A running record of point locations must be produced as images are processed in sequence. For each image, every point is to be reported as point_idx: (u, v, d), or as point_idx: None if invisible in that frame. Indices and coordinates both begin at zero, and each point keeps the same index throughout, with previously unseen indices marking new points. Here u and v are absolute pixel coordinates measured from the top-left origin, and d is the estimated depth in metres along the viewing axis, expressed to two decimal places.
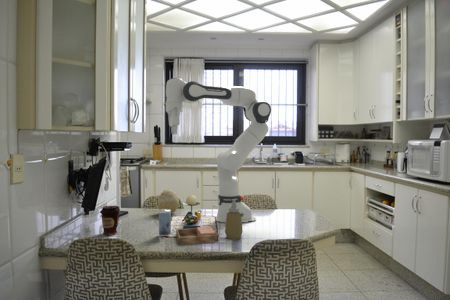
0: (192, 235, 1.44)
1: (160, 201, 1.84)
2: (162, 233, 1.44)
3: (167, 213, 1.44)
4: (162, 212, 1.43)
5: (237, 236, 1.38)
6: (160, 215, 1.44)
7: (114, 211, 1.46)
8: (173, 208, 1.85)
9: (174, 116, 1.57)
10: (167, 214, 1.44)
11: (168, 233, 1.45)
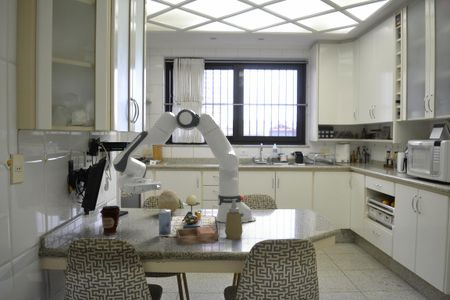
0: (192, 235, 1.44)
1: (160, 201, 1.84)
2: (162, 233, 1.44)
3: (167, 213, 1.44)
4: (162, 212, 1.43)
5: (237, 236, 1.38)
6: (160, 215, 1.44)
7: (114, 211, 1.46)
8: (173, 208, 1.85)
9: (123, 190, 1.54)
10: (167, 214, 1.44)
11: (168, 233, 1.45)
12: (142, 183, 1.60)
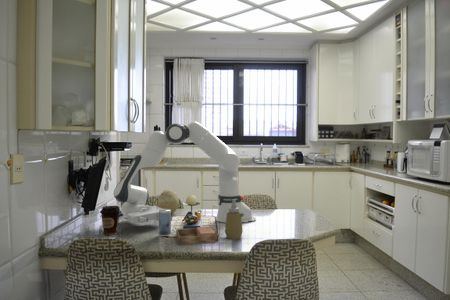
0: (192, 235, 1.44)
1: (160, 201, 1.84)
2: (162, 233, 1.44)
3: (167, 213, 1.44)
4: (162, 212, 1.43)
5: (237, 236, 1.38)
6: (160, 215, 1.44)
7: (114, 211, 1.46)
8: (173, 208, 1.85)
9: (128, 220, 1.52)
10: (167, 214, 1.44)
11: (168, 233, 1.45)
12: (146, 212, 1.58)
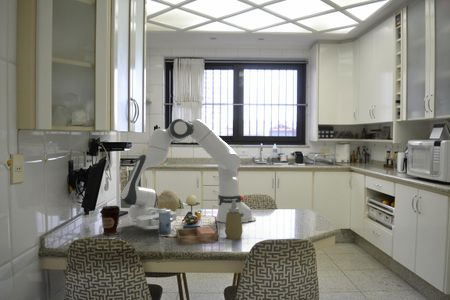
0: (192, 235, 1.44)
1: (160, 201, 1.84)
2: (162, 233, 1.44)
3: (167, 213, 1.44)
4: (162, 212, 1.43)
5: (237, 236, 1.38)
6: (160, 215, 1.44)
7: (114, 211, 1.46)
8: (173, 208, 1.85)
9: (137, 223, 1.45)
10: (167, 214, 1.44)
11: (168, 233, 1.45)
12: (156, 214, 1.51)
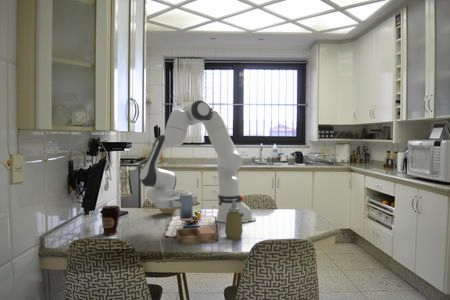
0: (192, 235, 1.44)
1: None
2: (184, 217, 1.37)
3: (189, 196, 1.37)
4: (184, 195, 1.37)
5: (237, 236, 1.38)
6: (181, 198, 1.37)
7: (114, 211, 1.46)
8: (173, 208, 1.85)
9: (157, 205, 1.38)
10: (189, 197, 1.37)
11: (190, 217, 1.38)
12: (176, 196, 1.45)
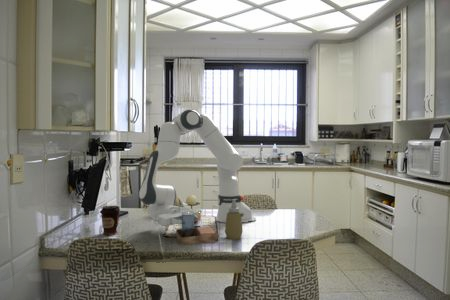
0: None
1: None
2: (185, 236, 1.37)
3: (191, 215, 1.37)
4: (186, 214, 1.36)
5: (237, 236, 1.38)
6: (183, 217, 1.37)
7: (114, 211, 1.46)
8: None
9: (159, 222, 1.38)
10: (191, 216, 1.37)
11: (192, 236, 1.37)
12: (178, 213, 1.44)
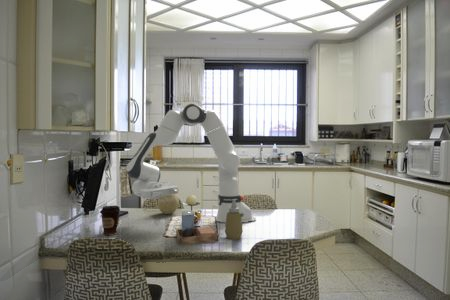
0: None
1: (160, 201, 1.84)
2: (185, 236, 1.37)
3: (191, 215, 1.37)
4: (185, 214, 1.36)
5: (237, 236, 1.38)
6: (183, 217, 1.37)
7: (114, 211, 1.46)
8: (173, 208, 1.85)
9: (141, 195, 1.50)
10: (191, 216, 1.37)
11: (192, 236, 1.37)
12: (159, 188, 1.57)
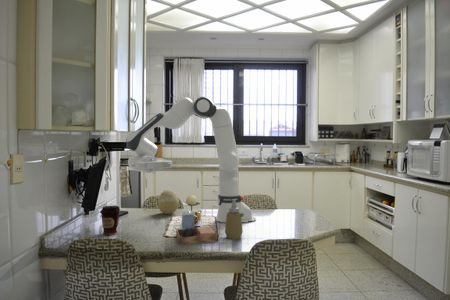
0: None
1: (160, 201, 1.84)
2: (186, 236, 1.37)
3: (191, 215, 1.37)
4: (186, 214, 1.36)
5: (237, 236, 1.38)
6: (184, 217, 1.37)
7: (114, 211, 1.46)
8: (173, 208, 1.85)
9: (135, 167, 1.55)
10: (191, 216, 1.37)
11: (192, 236, 1.37)
12: (153, 161, 1.61)
